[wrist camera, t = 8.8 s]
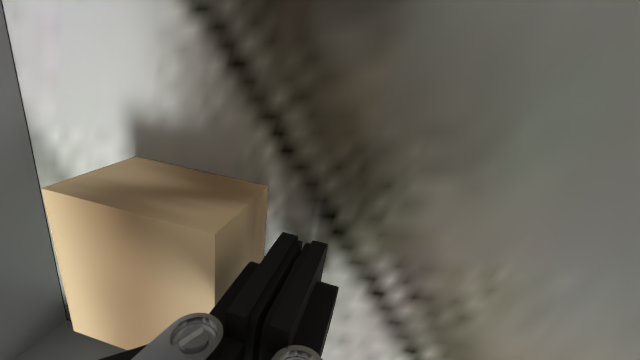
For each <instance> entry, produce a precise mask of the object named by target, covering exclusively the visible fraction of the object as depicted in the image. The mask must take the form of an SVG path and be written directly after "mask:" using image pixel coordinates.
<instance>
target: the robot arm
mask: <svg viewBox="0 0 640 360" xmlns="http://www.w3.org/2000/svg"><path fill="white" fill-rule="evenodd" d="M327 247H328V244H325V243H321V242H318V241H314V240H313V241H312V243H311V244H310V243H306V244H305V245H304V247H303V249H302V241H299V240H298V236H296V235H293V234H289V233H285V232H282V234H281V235H280V236H279V238H278V239H277V240H276V242H275V243H274V245H273V246H272V247H271V249H270V250H269V252H268V253H267V254H266V256H265V257H264V259H263V260H262V261H261V263H256V262H253V261H251V262H249V263H248V264H247V265H246V267H245V268H244V269H243V270H242V272H241V273H240V274H239V276H238V277H237V278H236V279H235V281H234V282H233V283H232V285H231V286H230V287H229V288H228V290H227V291H226V292H225V294H224V295H223V296H222V298H221V299H220V300H219V301H218V303H217V304H216V305H215V307H214V308H213V309H212V310H211V312H210V313H209V314H207V313H192V314H188V315H185V316H183V317H180V318H179V319H178V320H176V321H175V322H173V323H172V324H171V325H170V326H169V327H167V328H166V329H165V330H164V331H163V332H162V333H161V334H160V335H158V336H157V337H156V338H155V339H154V340H153V341H152V342H150V343H149V344H147V345H144V346H140V347H137V348H134V349H131V350H127V351H124V352H121V353H118V354H115V355H111V356H108V357H105V358H102V359H98V360H323V359H322V358H321V355H322V352H323V348H324V344H325V341H326V337H327V334H328V330H329V326H330V322H331V318H332V315H333V310H334V306H335V302H336V298H337V293H338V288H339V287H337V286H333V285H330V284H327V283H323V282H321V278H322V273H323V268H324V263H325V258H326V253H327ZM301 249H302V251H301Z"/></svg>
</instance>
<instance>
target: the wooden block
mask: <svg viewBox="0 0 640 360" xmlns="http://www.w3.org/2000/svg"><path fill="white" fill-rule="evenodd" d="M268 187H269V186H265V185H261V184H256V183H252V182H247V181H243V180H238V179H234V178H229V177H225V176H220V175H216V174H211V173H207V172H202V171H198V170H193V169H189V168H184V167H180V166H176V165H171V164H167V163H162V162H158V161H153V160H149V159H144V158H140V157H133V158H130V159H127V160H124V161H121V162H118V163H115V164H112V165H109V166H106V167H103V168H100V169H97V170H94V171H91V172H88V173H85V174H82V175H79V176H76V177H73V178H70V179H68V180H65V181H62V182H59V183H56V184H53V185H50V186H47V187H44V188H41V190H42V194H43V199H44V203H45V207H46V212H47V216H48V220H49V225H50V229H51V233H52V238H53V242H54V246H55V251H56V255H57V260H58V264H59V268H60V273H61V277H62V281H63V286H64V290H65V294H66V299H67V303H68V307H69V312H70V316H71V320H72V325H73V329H74V331H76V332H78V333H81V334H84V335H87V336H89V337H92V338H95V339H98V340H100V341H103V342H106V343H109V344H112V345H114V346H117V347H120V348H123V349H125V350H131V349H134V348H137V347H140V346H144V345H147V344H149V343H150V342H152V341H153V340H154V339H155V338H156V337H157V336H158V335H160V334H161V333H162V332H163V331H164V330H165V329H166V328H167V327H169V326H170V325H171V324H172V323H173V322H175V321H176V320H178V319H179V318H180V317H183V316H185V315H188V314H192V313H207V314H209V313H210V312H211V310H212V309H213V308H214V307H215V305H216V304H217V303H218V301H219V300H220V299H221V298H222V296H223V295H224V294H225V292H226V291H227V290H228V288H229V287H230V286H231V285H232V283H233V282H234V281H235V279H236V278H237V277H238V276H239V274H240V273H241V272H242V270H243V269H244V268H245V267H246V265H247V264H248V263H249V262H251V261H253V262H256V263H261V261H262V260H263V257H264V243H265V229H266V215H267V201H268Z"/></svg>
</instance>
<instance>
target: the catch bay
mask: <svg viewBox="0 0 640 360" xmlns="http://www.w3.org/2000/svg"><path fill="white" fill-rule="evenodd" d="M124 351H127V350H125V349H123V348H120V347H117V346H114V345H112V344H109V343H106V342H103V341H100V340H98V339H95V338H92V337H89V336H87V335H84V334H81V333H78V332H76V331H74V329H73V325H72V322H71V321H68V320H67V319H66V315H65V310H64V305H63V300H62V295H61V290H60V286H59V281H58V276H57V271H56V266H55V261H54V257H53V252H52V247H51V242H50V237H49V232H48V228H47V223H46V218H45V213H44V208H43V203H42V198H41V194H40V189H39V184H38V179H37V174H36V169H35V165H34V160H33V155H32V150H31V145H30V140H29V136H28V131H27V126H26V121H25V116H24V111H23V107H22V102H21V97H20V92H19V87H18V82H17V78H16V73H15V68H14V63H13V58H12V53H11V49H10V44H9V39H8V34H7V29H6V24H5V19H4V15H3V10H2V5H1V0H0V360H98V359H102V358H105V357H108V356H111V355H115V354H118V353H121V352H124Z"/></svg>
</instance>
